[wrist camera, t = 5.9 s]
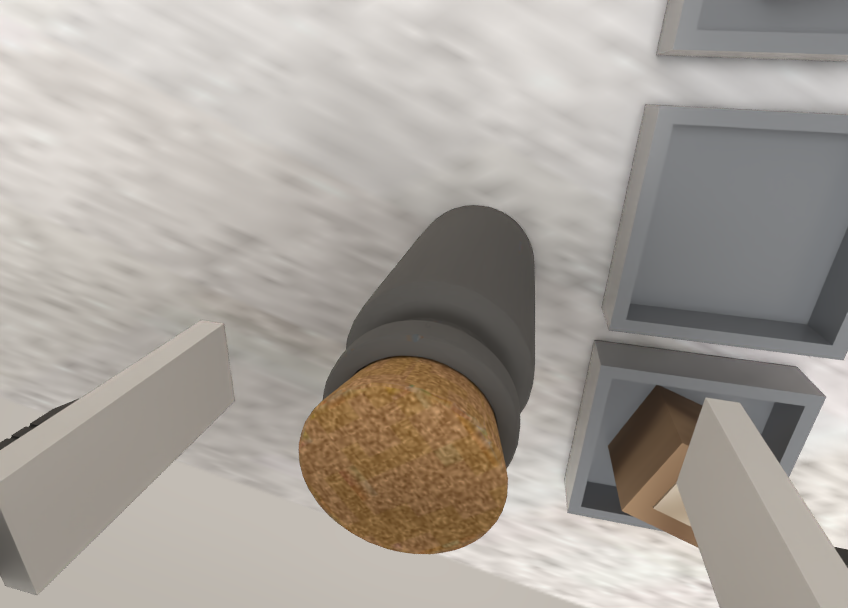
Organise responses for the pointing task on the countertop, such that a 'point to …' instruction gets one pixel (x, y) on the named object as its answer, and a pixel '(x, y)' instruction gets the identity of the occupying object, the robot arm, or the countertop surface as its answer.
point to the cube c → (655, 461)
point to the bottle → (430, 390)
